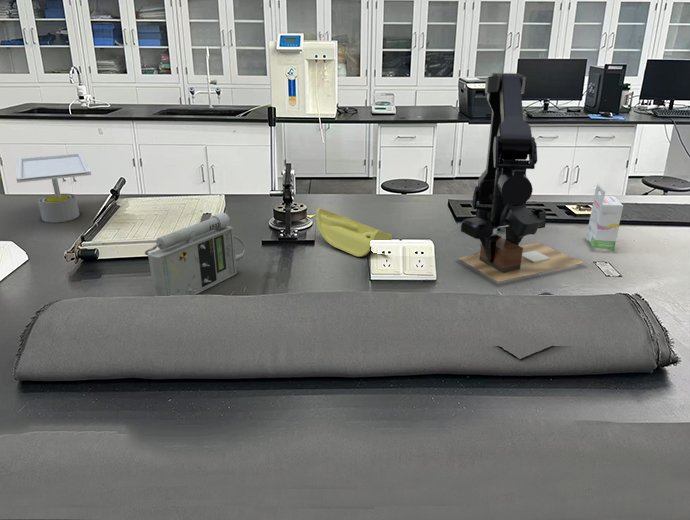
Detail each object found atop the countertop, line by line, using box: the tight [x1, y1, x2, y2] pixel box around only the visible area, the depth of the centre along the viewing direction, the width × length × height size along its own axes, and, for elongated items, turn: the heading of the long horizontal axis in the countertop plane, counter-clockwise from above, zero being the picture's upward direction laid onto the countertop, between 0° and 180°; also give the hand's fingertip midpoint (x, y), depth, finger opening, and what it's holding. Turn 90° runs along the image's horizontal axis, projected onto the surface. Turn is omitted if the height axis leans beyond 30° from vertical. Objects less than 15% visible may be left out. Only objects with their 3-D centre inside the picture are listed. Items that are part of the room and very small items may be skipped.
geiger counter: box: [144, 212, 247, 297], centre depth 108 cm, size 14×6×25 cm
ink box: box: [585, 183, 624, 252], centre depth 128 cm, size 9×5×15 cm, turn 168°
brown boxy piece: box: [479, 237, 523, 273], centre depth 117 cm, size 8×5×5 cm, turn 24°
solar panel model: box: [15, 152, 92, 224], centre depth 150 cm, size 28×17×15 cm, turn 29°
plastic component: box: [315, 207, 394, 258], centre depth 132 cm, size 20×7×10 cm
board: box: [458, 242, 584, 283], centre depth 120 cm, size 14×24×1 cm, turn 114°
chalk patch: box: [522, 251, 551, 263], centre depth 122 cm, size 5×5×1 cm
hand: (499, 260), depth 118 cm, fingers closed on brown boxy piece, 5 cm apart
